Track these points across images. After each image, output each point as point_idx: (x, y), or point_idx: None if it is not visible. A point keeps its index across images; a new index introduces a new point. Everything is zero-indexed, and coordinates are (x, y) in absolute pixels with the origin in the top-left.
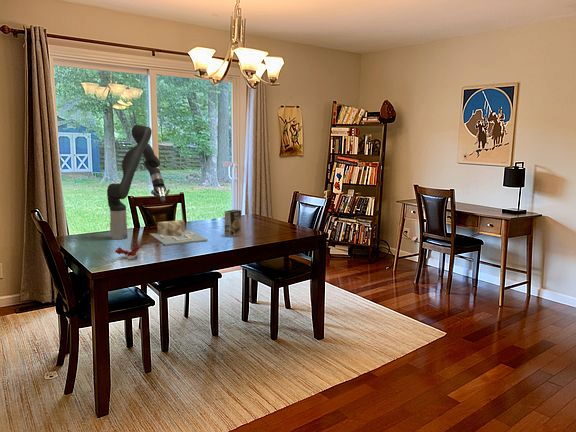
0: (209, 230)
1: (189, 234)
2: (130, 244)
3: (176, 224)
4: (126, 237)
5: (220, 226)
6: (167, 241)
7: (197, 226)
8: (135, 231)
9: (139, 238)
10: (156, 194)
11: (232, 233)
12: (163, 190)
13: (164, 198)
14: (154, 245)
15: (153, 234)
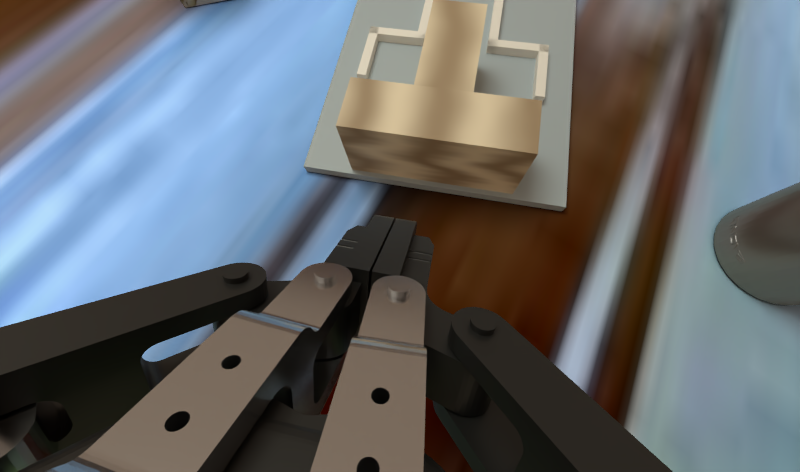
0: (208, 127)
1: (398, 31)
2: (722, 75)
3: (453, 21)
4: (726, 215)
5: (76, 182)
6: (546, 3)
7: (166, 271)
8: (614, 397)
9: (644, 169)
10: (539, 354)
11: None
12: (156, 402)
13: (350, 247)
14: (613, 7)
15: (551, 173)
